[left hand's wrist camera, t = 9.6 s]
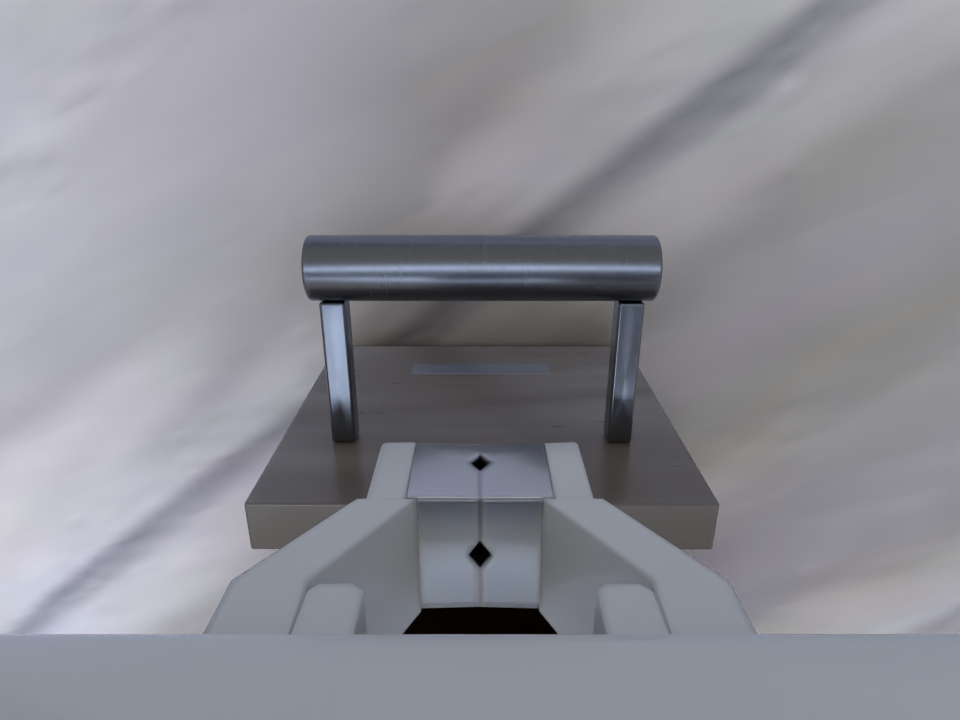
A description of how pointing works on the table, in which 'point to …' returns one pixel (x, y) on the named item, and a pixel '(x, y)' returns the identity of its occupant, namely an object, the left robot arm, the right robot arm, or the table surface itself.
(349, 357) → the drawer
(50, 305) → the table surface
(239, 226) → the table surface
